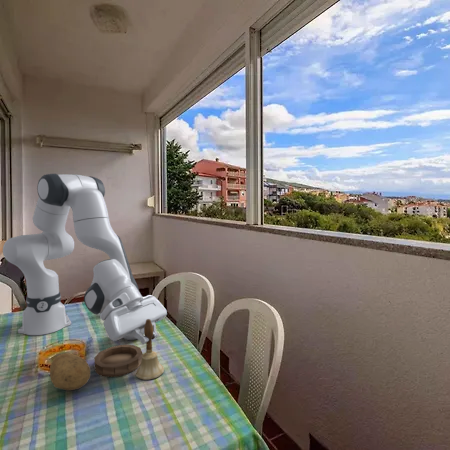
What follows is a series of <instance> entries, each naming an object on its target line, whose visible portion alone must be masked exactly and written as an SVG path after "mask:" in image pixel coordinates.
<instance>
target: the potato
mask: <svg viewBox="0 0 450 450" xmlns="http://www.w3.org/2000/svg"><path fill="white" fill-rule="evenodd" d="M49 376H50V380H51V383H52V385H53V387H54V388H57V389H60V390H65V391H74V390H78V389H81V388H83V386H85V385H87V383H88V382H89V379H90V378H91V368H90V365H89V363H88V361H87V360H86V359H85V358H83V357H82V356H79V355H77V354H74V353H71V352H65V353H60V354H58V355H56V356H55V357H54V358H53V359H52V361H51V363H50V366H49Z"/></svg>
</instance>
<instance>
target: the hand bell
mask: <svg viewBox="0 0 450 450" xmlns="http://www.w3.org/2000/svg"><path fill="white" fill-rule="evenodd" d="M145 335H146V336H147V338H148V339H149V341H148V342H147V343H145V346H146V349H145V350H146V351H145V352H144V353H142V360H141V365H140V367H139V368H137V369H136V370H135V376H136V377H137V378H138V379H140V380H142V381H143V380H146V381H148V380H153V379H156V378H158V377H161V375H163V374H164V372H165V367H164V365H163V364H161V363H160V361H159V358H158V354H157V352H156V351H154V350H153V344H152V342H153V341H152V336H153V326H152V323H151V320H150V319H147V320H146V323H145V327H144V336H145Z"/></svg>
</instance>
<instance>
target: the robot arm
mask: <svg viewBox="0 0 450 450" xmlns="http://www.w3.org/2000/svg"><path fill="white" fill-rule="evenodd" d="M36 189H37V194H38V199H37V201H36V206H35V208H34V209H35V210H34V212H33V216H32V221H33V222H32V223H33V225H34V226H35V228H37V229H38V230H40V231H42V232H40V233H33V234H31V233H30V234H23V235H22V234H21V235H18V236H13V237H10V238H8V239H7V240H5V242H4V244H3V247H2V254H3V257H4V258H5V260H6V261H7V262H8V263H10V264H12V265H14V266H16V267H17V268H18V269H19V270H20V271H21V272H22V274H23V276H24V278H25V283H26V293H27V295H26V297H25V299H26V300H25V303H26V308H25V309H24V310H23V311H22V326H20V328H18V329H17V333H18V334H24V335H27V336H41V335H47V334H51V333H55V332H57V331H60V330H62V329H63V328H65V327H68V326H71V325H72V321H71V320H70V318H69V316H68V314H67V312H66V306H65V305H64V304H63V303H62V302H61V300H62V295H61V292H60V285H59V283H60V280H59V274H58V273H57V272H56V271H55V270H53V269H50V268H47V267H46V266H45V264H44V263H45V261H49V260H55V259H56V260H57V259H61V258H64V257H67V256H69V255H71V254H72V253H73V251H74V249H75V240H74V238H73V237H72V235H71V234H69V233H68V231H66V224H67V220H68V217H69V213H70V211H72V212H71V213H72V220H73V221H72V222H73V227H74V233H75V236H76V238H77V240H78V241H79V242H80V243H81V244H83V245H85V247H89V248H92V249H96V250H99V251H101V252H104V253H105V254H107V256H108V257H109V259H104V260H101V261H100V262H98V263H97V264H95V265H94V267H93V268H92V270H93V272H92V273H93V278H92V281H91V284H90V286H89V287H88V288H87V290H86V291H85V293H84V296H83V301H84V303H83V304H84V305H85V307H86V309H87V310H88V311H89V312H90V313H92V314H94V315H99V317H100V319H101V321H103V327H104V329H105V332H106V334H107V337H108V338H109V339H110V340H111V341H113V342H117V341H119V340H121V339H124V338H123V337H126V336H128V335H130V334H132V335H133V337H135V338H137V339H136V340H138V341H140V343H141V345H142V346H144V345H146V343H147V342H148V341H149V339H148V338H147V336H146V335H145V334H144V335H142V334H141V333H140V330H141V329H143V328H144V327H145V323H146V320H147V319H150V320H151V323H152V326H153V336H152V340H155V339H156V338H157V337H159V333H158V332H157V327H156V323H158V322H159V321H162V320H164V318H166V316H167V315H168V313H167V312H168V311H167V309H166V308H165V307H164V305H163V303H162V302H160V300H159V299H158V298H157V297H156V296H155V295H154V296H153V295H151V294H147V295H146V296H143V295H142V294H141V292H140V289H139V286H138V283H137V282H136V279H135V278H134V275H133V273H132V269H131V266H130V263H129V259H128V256H127V253H126V249H125V247H124V244H123V241H122V238H121V237H120V236H119V235H118V234H116V232H115V230H114V229H113V227H112V225H111V221H110V216H109V211H108V207H107V203H106V200H105V198H104V197H105V195H106V189H105V185H104V183H103V181H102V180H101V179H100V178H98V177H95V176H88V175H81V174H76V173H75V174H73V173H72V174H71V173H70V174H66V173H64V174H63V173H62V174H57V173H46V174H43V175H42V176H41V177H40V178H39V180H38V182H37V188H36Z"/></svg>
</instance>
